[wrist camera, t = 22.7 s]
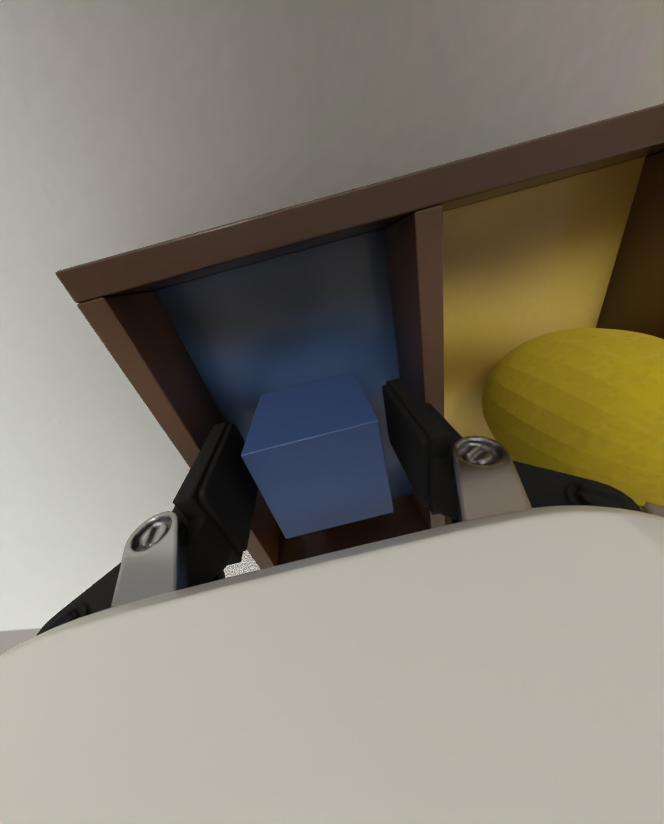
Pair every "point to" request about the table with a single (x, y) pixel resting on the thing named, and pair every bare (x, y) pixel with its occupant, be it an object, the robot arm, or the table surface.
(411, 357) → the sorting tray
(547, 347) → the lemon
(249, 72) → the table surface
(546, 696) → the robot arm
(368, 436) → the blue block
